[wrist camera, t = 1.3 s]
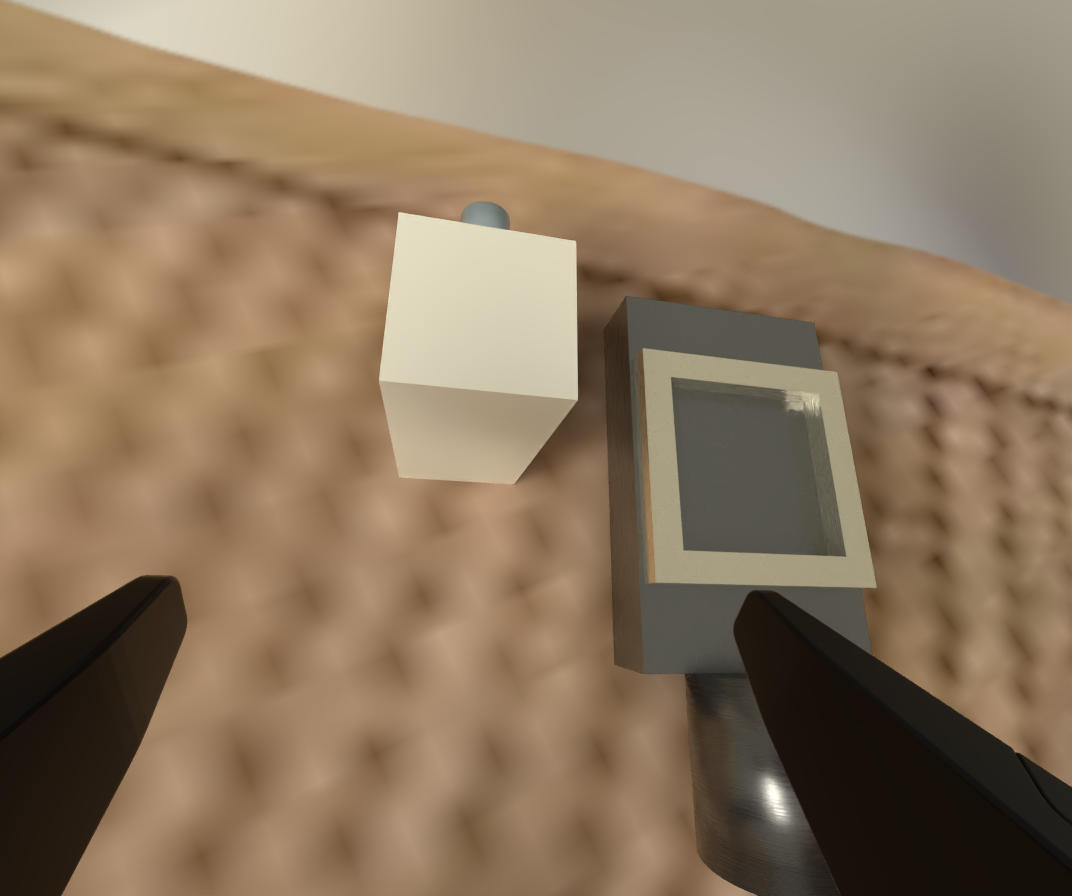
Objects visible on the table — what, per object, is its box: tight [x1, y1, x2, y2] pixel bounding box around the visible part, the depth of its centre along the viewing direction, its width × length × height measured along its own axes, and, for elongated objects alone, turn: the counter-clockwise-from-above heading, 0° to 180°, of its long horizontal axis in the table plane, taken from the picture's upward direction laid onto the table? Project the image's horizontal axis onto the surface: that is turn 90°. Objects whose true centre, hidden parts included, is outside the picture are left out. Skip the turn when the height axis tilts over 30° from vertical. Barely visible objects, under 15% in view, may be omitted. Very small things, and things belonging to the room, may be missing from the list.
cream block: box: [379, 202, 578, 484], centre depth 18 cm, size 7×5×10 cm
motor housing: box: [604, 296, 877, 896], centre depth 21 cm, size 22×10×6 cm, turn 179°
